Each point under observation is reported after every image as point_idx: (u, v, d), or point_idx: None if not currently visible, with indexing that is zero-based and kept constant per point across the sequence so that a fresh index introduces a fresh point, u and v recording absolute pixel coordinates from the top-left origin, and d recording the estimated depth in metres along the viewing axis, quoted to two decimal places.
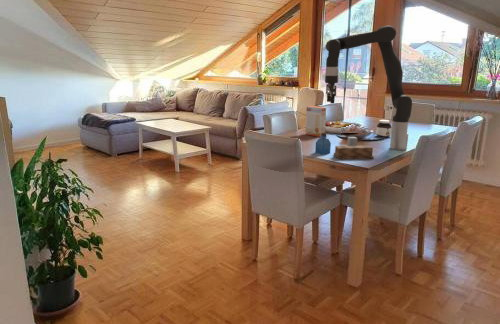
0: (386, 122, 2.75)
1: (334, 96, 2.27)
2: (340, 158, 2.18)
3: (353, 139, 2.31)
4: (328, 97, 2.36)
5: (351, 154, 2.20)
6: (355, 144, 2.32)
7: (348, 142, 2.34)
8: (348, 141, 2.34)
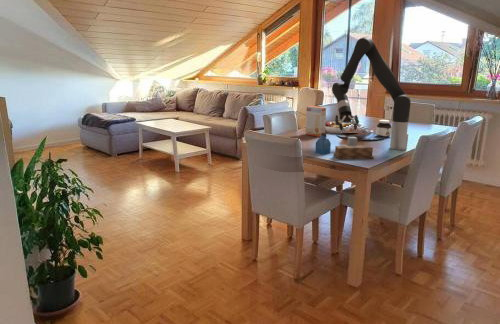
0: (386, 122, 2.75)
1: (339, 123, 2.40)
2: (340, 158, 2.18)
3: (353, 139, 2.31)
4: (354, 126, 2.41)
5: (351, 154, 2.20)
6: (355, 144, 2.32)
7: (348, 142, 2.34)
8: (348, 141, 2.34)
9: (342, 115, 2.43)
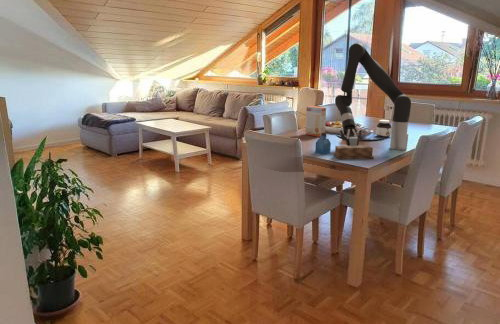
0: (386, 122, 2.75)
1: (347, 139, 2.33)
2: (340, 158, 2.18)
3: (353, 139, 2.31)
4: None
5: (351, 154, 2.20)
6: (355, 144, 2.32)
7: None
8: None
9: (345, 128, 2.37)
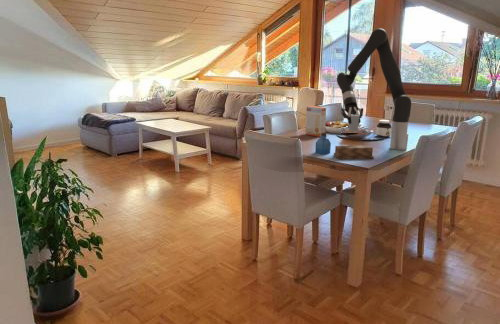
0: (386, 122, 2.75)
1: (348, 117, 2.30)
2: (340, 158, 2.18)
3: (355, 117, 2.27)
4: None
5: (351, 154, 2.20)
6: (357, 122, 2.28)
7: None
8: None
9: (347, 106, 2.33)
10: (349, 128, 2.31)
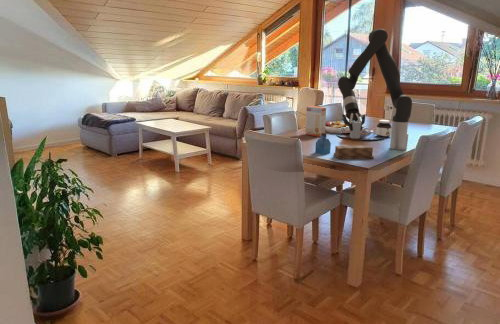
0: (386, 122, 2.75)
1: (349, 123, 2.18)
2: (340, 158, 2.18)
3: (356, 123, 2.16)
4: None
5: (351, 154, 2.20)
6: (358, 129, 2.17)
7: None
8: None
9: (348, 112, 2.22)
10: (350, 135, 2.20)
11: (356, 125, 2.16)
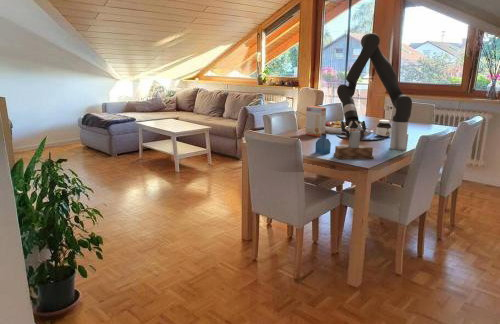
0: (386, 122, 2.75)
1: (346, 130, 2.20)
2: (340, 158, 2.18)
3: (356, 133, 2.18)
4: (360, 133, 2.21)
5: (351, 154, 2.20)
6: (358, 138, 2.19)
7: (350, 136, 2.20)
8: (350, 135, 2.20)
9: (348, 120, 2.23)
10: (350, 145, 2.22)
11: (355, 135, 2.18)
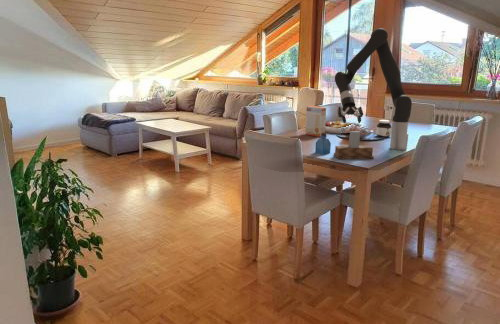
0: (386, 122, 2.75)
1: (342, 115, 2.25)
2: (340, 158, 2.18)
3: (356, 133, 2.18)
4: (358, 119, 2.26)
5: (351, 154, 2.20)
6: (358, 138, 2.19)
7: (350, 136, 2.20)
8: (350, 135, 2.20)
9: (345, 107, 2.28)
10: (350, 145, 2.22)
11: (355, 135, 2.18)
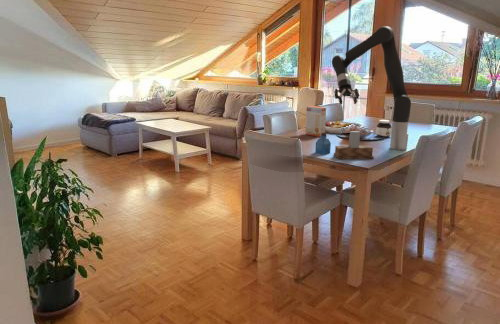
0: (386, 122, 2.75)
1: (339, 97, 2.34)
2: (340, 158, 2.18)
3: (356, 133, 2.18)
4: (353, 100, 2.35)
5: (351, 154, 2.20)
6: (358, 138, 2.19)
7: (350, 136, 2.20)
8: (350, 135, 2.20)
9: (342, 88, 2.37)
10: (350, 145, 2.22)
11: (355, 135, 2.18)
